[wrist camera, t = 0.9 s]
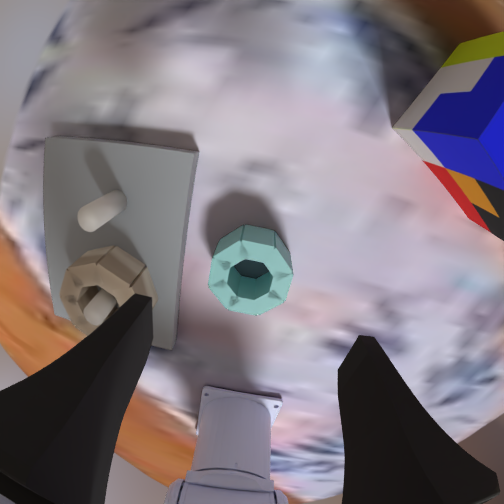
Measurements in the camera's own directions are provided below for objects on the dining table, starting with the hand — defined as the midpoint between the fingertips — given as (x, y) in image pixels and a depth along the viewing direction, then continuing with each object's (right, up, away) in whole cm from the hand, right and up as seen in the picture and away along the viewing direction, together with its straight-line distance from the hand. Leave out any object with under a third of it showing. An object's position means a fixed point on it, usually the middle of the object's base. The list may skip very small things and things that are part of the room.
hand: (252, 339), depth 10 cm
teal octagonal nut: (0, +2, +12) cm, 13 cm away
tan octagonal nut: (-11, 0, +12) cm, 16 cm away
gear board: (-11, +4, +12) cm, 17 cm away
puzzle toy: (+16, +12, +8) cm, 22 cm away
